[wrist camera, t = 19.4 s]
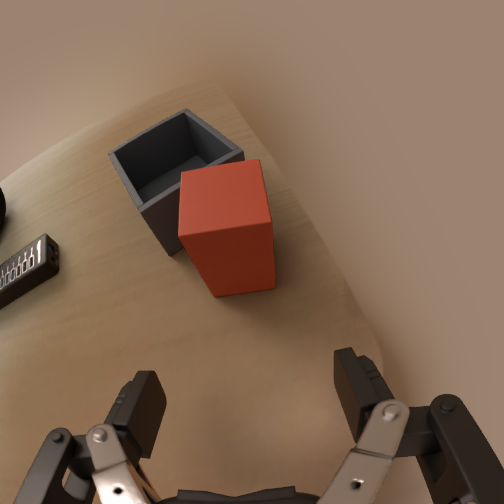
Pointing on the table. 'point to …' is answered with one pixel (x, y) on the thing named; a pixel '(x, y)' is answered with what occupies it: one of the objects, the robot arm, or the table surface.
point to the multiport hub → (28, 269)
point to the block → (228, 227)
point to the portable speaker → (2, 206)
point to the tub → (169, 168)
